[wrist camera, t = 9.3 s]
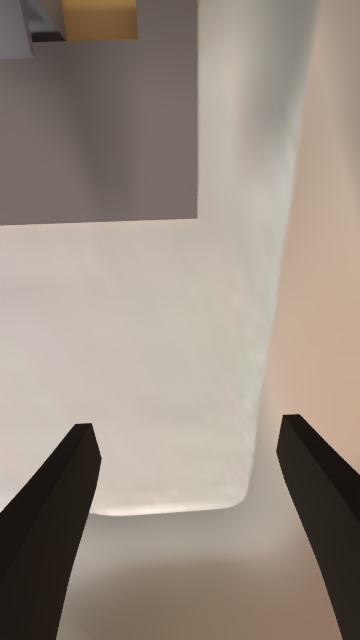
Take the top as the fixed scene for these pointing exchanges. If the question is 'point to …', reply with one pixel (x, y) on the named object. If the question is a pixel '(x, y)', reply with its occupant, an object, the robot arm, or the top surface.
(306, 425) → the robot arm
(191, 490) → the top surface
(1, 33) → the block
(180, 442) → the top surface
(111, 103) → the plate
